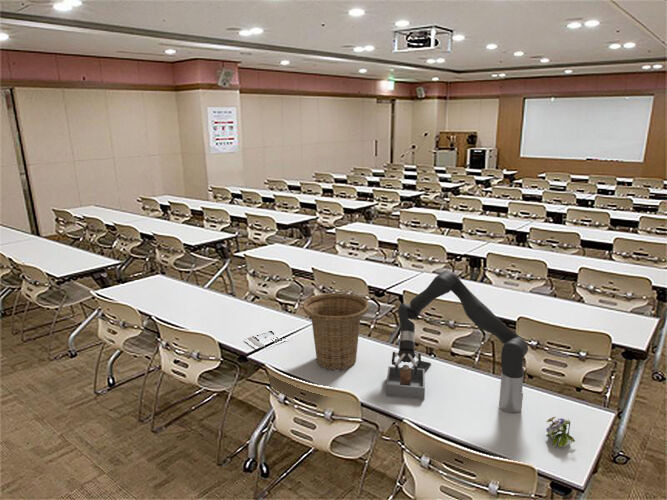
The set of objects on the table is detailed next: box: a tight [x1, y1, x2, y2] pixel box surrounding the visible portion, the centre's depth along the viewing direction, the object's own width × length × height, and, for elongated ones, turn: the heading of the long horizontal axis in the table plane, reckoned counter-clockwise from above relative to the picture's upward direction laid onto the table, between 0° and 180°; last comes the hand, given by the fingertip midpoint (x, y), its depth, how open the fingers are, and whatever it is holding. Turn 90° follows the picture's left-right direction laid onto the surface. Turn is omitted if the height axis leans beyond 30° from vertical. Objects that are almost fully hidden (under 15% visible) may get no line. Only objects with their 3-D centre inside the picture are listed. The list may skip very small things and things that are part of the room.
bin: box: [385, 365, 426, 400], centre depth 237 cm, size 18×18×6 cm
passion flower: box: [545, 416, 576, 449], centre depth 197 cm, size 11×11×12 cm
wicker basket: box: [302, 292, 370, 371], centre depth 261 cm, size 35×35×33 cm
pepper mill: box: [400, 364, 412, 386], centre depth 236 cm, size 5×5×10 cm
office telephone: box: [246, 336, 286, 348], centre depth 292 cm, size 23×3×20 cm
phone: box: [411, 360, 432, 374], centre depth 256 cm, size 8×1×15 cm
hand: (405, 374), depth 234 cm, fingers open, 8 cm apart
